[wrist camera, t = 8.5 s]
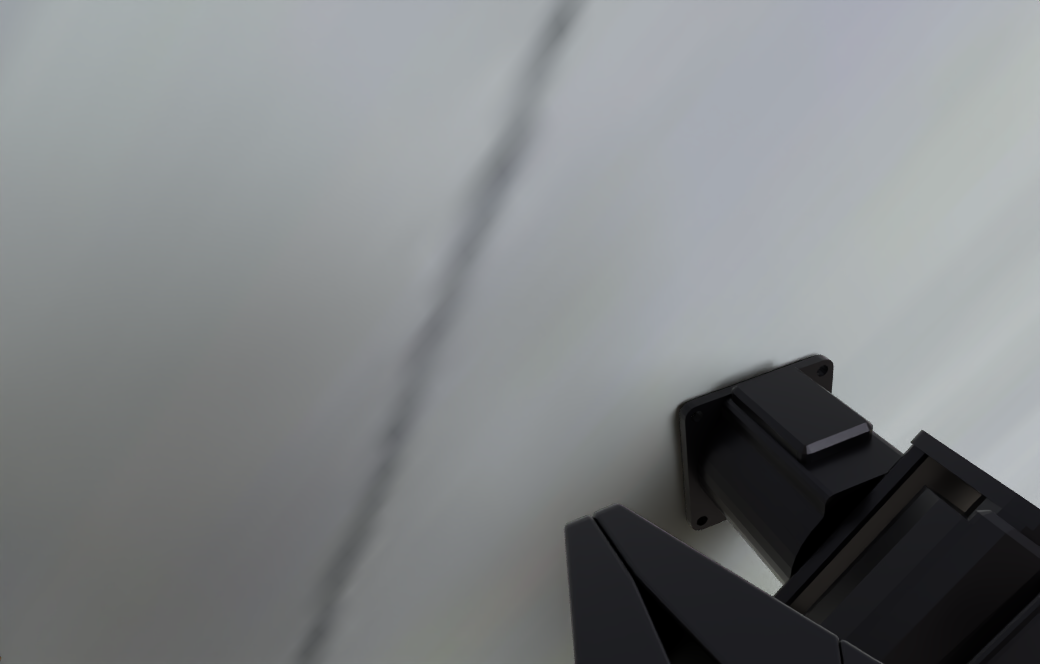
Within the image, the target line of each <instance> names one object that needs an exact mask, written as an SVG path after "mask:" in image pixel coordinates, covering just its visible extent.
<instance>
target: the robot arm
mask: <svg viewBox="0 0 1040 664" xmlns="http://www.w3.org/2000/svg"><path fill="white" fill-rule="evenodd" d="M832 380H833V362H832V361H831V360H829V359H828V358H826V357H825V356H823V355H816V356H813V357H810V358H807V359H805V360H802V361H799V362H796V363H794V364H791V365H788V366H785V367H782V368H780V369H777V370H774V371H771V372H769V373H766V374H763V375H760V376H758V377H755V378H752V379H749V380H746V381H744V382H741V383H738V384H735V385H733V386H730V387H727V388H724V389H722V390H719V391H716V392H713V393H710V394H708V395H705V396H702V397H699V398H697V399H694V400H691V401H689V402H687V403H686V404H685V405H684V406H683V407H682V408H681V410H680V415H679V416H680V431H681V446H682V460H683V475H684V489H685V504H686V519H687V521H688V523H689V524H690V525H691V527H692V528H693V529H695V530H702V529H705V528H707V527H710V526H712V525H715V524H717V523H720V522H722V521H724V520H727V519H728V521H729V522H730V523H731V524H732V525H733V526H734V528H735V529H736V530H737V531H738V532H739V534H740V535H741V536H742V537H743V538H744V540H745V541H746V542H747V543H748V544H749V545H750V547H751V548H752V549H753V550H754V551H755V553H756V554H757V555H758V556H759V557H760V559H761V560H762V561H763V562H764V563H765V564H766V566H767V567H768V568H769V569H770V570H771V572H772V573H773V574H774V575H775V576H776V578H777V579H778V580H779V581H780V582H781V583H782V585H783V586H782V587H781V588H780V589H779V590H778V591H777V593H776V594H775V595H774V596H771V595H769V594H768V593H766V592H764V591H763V590H761V589H759V588H758V587H756V586H755V585H753V584H751V583H750V582H748V581H746V580H745V579H743V578H741V577H740V576H738V575H736V574H735V573H733V572H732V571H730V570H728V569H727V568H725V567H723V566H722V565H720V564H718V563H717V562H715V561H714V560H712V559H710V558H709V557H707V556H705V555H704V554H702V553H700V552H699V551H697V550H695V549H694V548H692V547H691V546H689V545H687V544H686V543H684V542H682V541H681V540H679V539H677V538H676V537H674V536H672V535H671V534H669V533H668V532H666V531H664V530H663V529H661V528H659V527H658V526H656V525H654V524H653V523H651V522H650V521H648V520H646V519H645V518H643V517H641V516H640V515H638V514H636V513H635V512H633V511H631V510H630V509H628V508H627V507H625V506H623V505H621V504H617V503H616V504H612V505H610V506H608V507H605V508H603V509H600V510H598V511H596V512H595V513H594V514H593V516H592V517H591V516H589V515H586V516H584V517H581V518H579V519H576V520H574V521H572V522H569V523H567V524H566V525H565V527H564V533H565V546H566V558H567V571H568V583H569V596H570V608H571V621H572V633H573V646H574V659H575V664H1040V509H1039V508H1037V507H1036V506H1035V505H1033V504H1032V503H1030V502H1029V501H1027V500H1026V499H1024V498H1023V497H1021V496H1020V495H1018V494H1017V493H1015V492H1014V491H1012V490H1011V489H1009V488H1008V487H1006V486H1005V485H1004V484H1002V483H1001V482H999V481H998V480H996V479H995V478H993V477H992V476H990V475H989V474H987V473H986V472H984V471H983V470H981V469H980V468H978V467H977V466H975V465H974V464H972V463H971V462H969V461H968V460H966V459H965V458H963V457H962V456H960V455H959V454H957V453H956V452H954V451H953V450H951V449H950V448H948V447H947V446H945V445H944V444H942V443H941V442H939V441H938V440H937V439H935V438H934V437H932V436H931V435H929V434H928V433H926V432H925V431H923V430H921V431H920V432H919V433H918V434H917V436H916V437H915V438H914V439H913V440H912V441H911V443H912V444H913V445H912V446H911V447H910V448H909V449H908V450H907V451H906V452H905V453H904V454H903V453H902V452H900V451H899V450H898V449H896V448H895V447H894V446H892V445H891V444H890V443H888V442H887V441H886V440H884V439H883V438H882V437H880V436H879V435H878V434H876V433H875V432H874V431H873V425H872V424H871V423H870V422H869V421H868V420H866V419H865V418H864V417H862V416H861V415H860V414H858V413H857V412H856V411H854V410H853V409H852V408H850V407H849V406H848V405H846V404H845V403H843V402H842V401H841V400H839V399H838V398H837V397H835V396H834V395H833V394H832ZM696 411H697V412H696ZM695 412H696V413H695ZM693 413H695V415H693ZM692 415H693V416H692ZM691 416H692V417H691Z"/></svg>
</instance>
